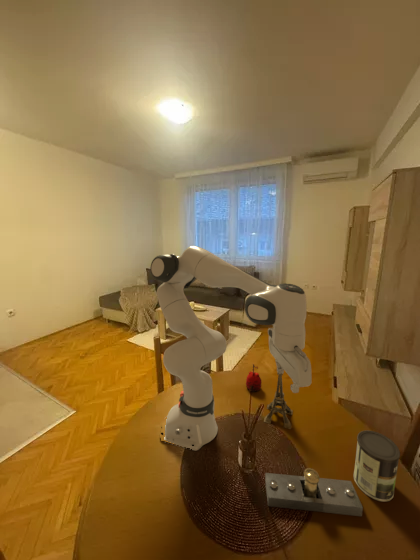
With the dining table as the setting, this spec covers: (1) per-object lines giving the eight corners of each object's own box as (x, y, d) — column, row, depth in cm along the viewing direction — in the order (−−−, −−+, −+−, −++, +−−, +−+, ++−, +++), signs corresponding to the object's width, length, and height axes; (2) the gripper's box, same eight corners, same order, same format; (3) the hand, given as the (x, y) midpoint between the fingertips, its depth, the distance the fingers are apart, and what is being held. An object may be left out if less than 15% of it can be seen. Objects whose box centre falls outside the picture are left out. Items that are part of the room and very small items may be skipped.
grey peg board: (268, 505, 67) (268, 495, 66) (265, 480, 74) (265, 471, 73) (361, 516, 64) (363, 505, 63) (349, 489, 71) (351, 479, 70)
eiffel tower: (291, 429, 93) (293, 371, 88) (263, 422, 97) (265, 366, 92) (292, 410, 103) (295, 357, 98) (267, 404, 106) (269, 353, 102)
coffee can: (391, 477, 74) (397, 438, 71) (395, 509, 65) (402, 467, 63) (353, 461, 79) (357, 425, 77) (352, 489, 71) (357, 449, 68)
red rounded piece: (262, 386, 119) (262, 358, 116) (260, 394, 113) (260, 366, 110) (247, 383, 122) (247, 356, 119) (244, 391, 116) (244, 363, 113)
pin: (301, 500, 68) (303, 477, 67) (303, 487, 72) (305, 465, 70) (316, 508, 66) (318, 484, 65) (318, 494, 70) (320, 472, 68)
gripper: (319, 355, 60) (316, 403, 63) (283, 325, 80) (282, 363, 83) (296, 358, 59) (293, 406, 62) (265, 327, 79) (264, 364, 82)
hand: (286, 381), depth 72 cm, fingers open, 8 cm apart
